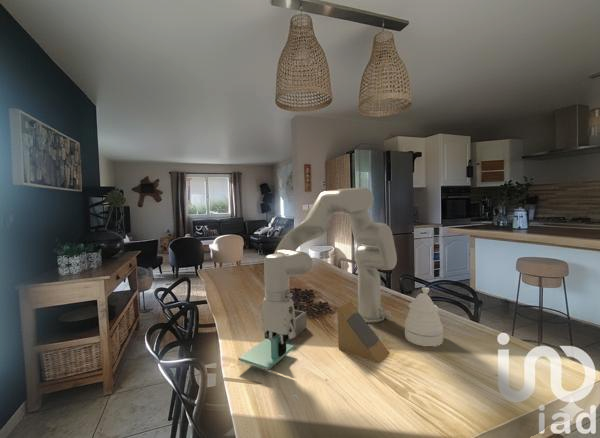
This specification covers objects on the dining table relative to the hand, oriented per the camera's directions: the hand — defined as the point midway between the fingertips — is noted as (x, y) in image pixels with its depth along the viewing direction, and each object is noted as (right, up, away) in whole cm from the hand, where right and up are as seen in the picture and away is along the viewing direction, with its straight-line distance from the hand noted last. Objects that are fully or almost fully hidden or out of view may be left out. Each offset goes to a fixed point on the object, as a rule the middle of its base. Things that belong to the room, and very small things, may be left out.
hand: (278, 352), depth 88 cm
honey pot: (+52, -2, +16) cm, 54 cm away
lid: (-4, -1, +2) cm, 5 cm away
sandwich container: (+28, -4, +8) cm, 30 cm away
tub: (+1, -3, +23) cm, 23 cm away
